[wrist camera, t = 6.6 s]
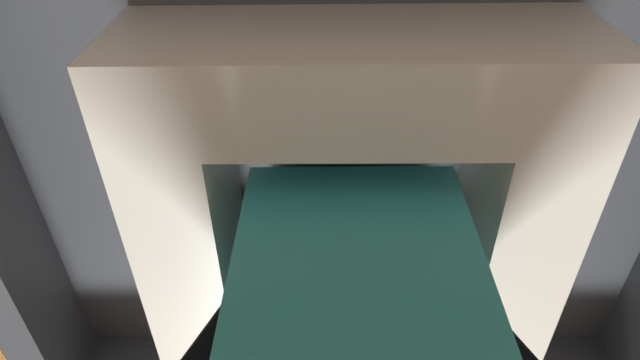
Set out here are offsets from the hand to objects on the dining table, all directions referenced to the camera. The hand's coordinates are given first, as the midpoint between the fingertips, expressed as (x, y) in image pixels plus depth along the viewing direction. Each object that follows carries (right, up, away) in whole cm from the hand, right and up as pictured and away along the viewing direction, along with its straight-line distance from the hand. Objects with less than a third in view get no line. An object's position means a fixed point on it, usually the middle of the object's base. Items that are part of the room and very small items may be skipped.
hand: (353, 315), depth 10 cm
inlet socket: (0, +3, +4) cm, 4 cm away
